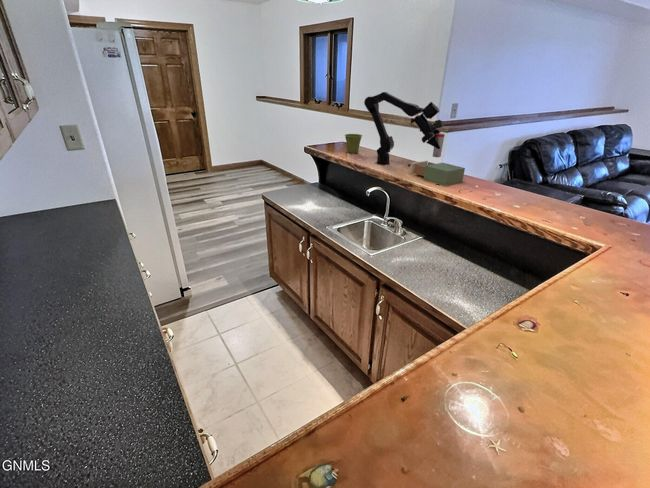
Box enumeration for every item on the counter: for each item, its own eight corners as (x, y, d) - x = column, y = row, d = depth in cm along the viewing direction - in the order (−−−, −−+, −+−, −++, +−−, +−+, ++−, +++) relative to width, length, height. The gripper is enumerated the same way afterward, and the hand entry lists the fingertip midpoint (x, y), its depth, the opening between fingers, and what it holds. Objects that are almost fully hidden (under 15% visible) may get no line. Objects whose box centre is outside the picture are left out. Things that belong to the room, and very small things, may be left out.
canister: (431, 156, 191) (435, 134, 186) (432, 155, 195) (436, 133, 190) (440, 157, 190) (444, 134, 184) (441, 156, 194) (445, 133, 188)
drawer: (403, 171, 189) (404, 161, 187) (418, 168, 196) (420, 159, 193) (427, 178, 177) (429, 168, 175) (443, 175, 183) (445, 165, 181)
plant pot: (342, 150, 241) (343, 133, 236) (359, 150, 242) (360, 133, 237) (345, 154, 230) (346, 136, 225) (362, 154, 232) (364, 136, 227)
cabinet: (423, 179, 179) (425, 165, 176) (440, 175, 186) (442, 162, 183) (445, 185, 169) (447, 171, 166) (462, 182, 176) (465, 168, 173)
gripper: (431, 116, 177) (449, 140, 177) (440, 113, 192) (456, 136, 192) (414, 130, 184) (431, 154, 184) (423, 126, 199) (439, 148, 199)
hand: (440, 148), depth 190 cm, fingers closed on canister, 4 cm apart
